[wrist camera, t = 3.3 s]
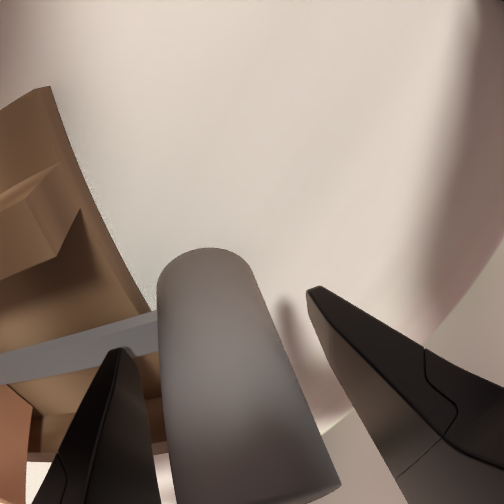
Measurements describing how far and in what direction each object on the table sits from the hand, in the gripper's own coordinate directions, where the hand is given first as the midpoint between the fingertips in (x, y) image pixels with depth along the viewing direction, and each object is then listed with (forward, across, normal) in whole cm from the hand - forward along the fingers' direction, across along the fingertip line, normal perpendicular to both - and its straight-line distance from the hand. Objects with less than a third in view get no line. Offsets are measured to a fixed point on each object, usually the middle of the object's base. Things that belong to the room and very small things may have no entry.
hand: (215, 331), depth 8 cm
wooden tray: (+2, +9, 0) cm, 9 cm away
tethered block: (+2, +7, 0) cm, 7 cm away
